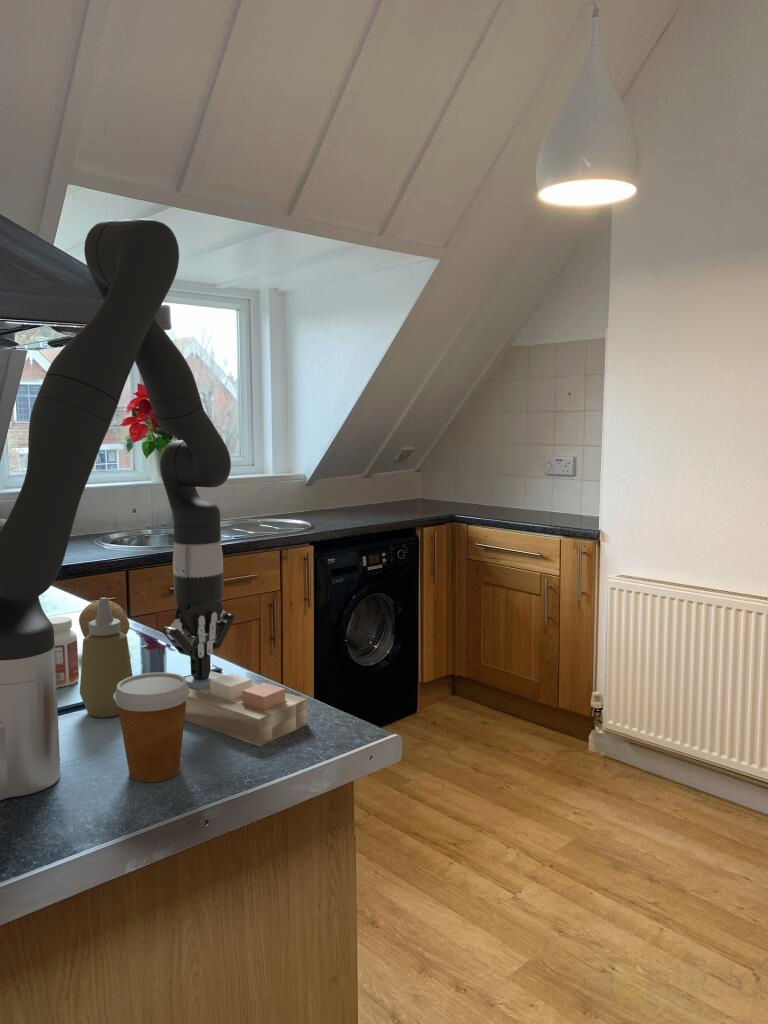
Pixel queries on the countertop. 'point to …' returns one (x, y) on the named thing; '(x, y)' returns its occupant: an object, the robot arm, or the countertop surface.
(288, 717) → the key box
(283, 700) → the terracotta key
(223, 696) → the white key
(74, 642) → the pill bottle
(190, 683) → the slate key
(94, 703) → the squeeze bottle
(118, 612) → the natural sponge
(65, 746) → the countertop surface
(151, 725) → the disposable coffee cup
